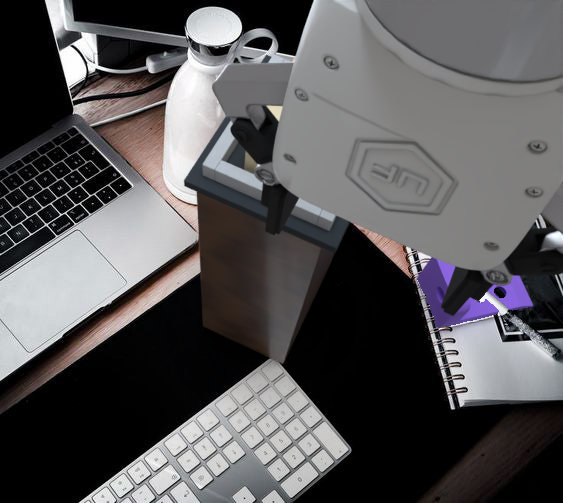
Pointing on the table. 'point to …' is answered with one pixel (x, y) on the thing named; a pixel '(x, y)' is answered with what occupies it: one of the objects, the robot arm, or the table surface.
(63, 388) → the table surface
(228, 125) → the base pad
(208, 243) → the riser
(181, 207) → the table surface
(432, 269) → the bracket
